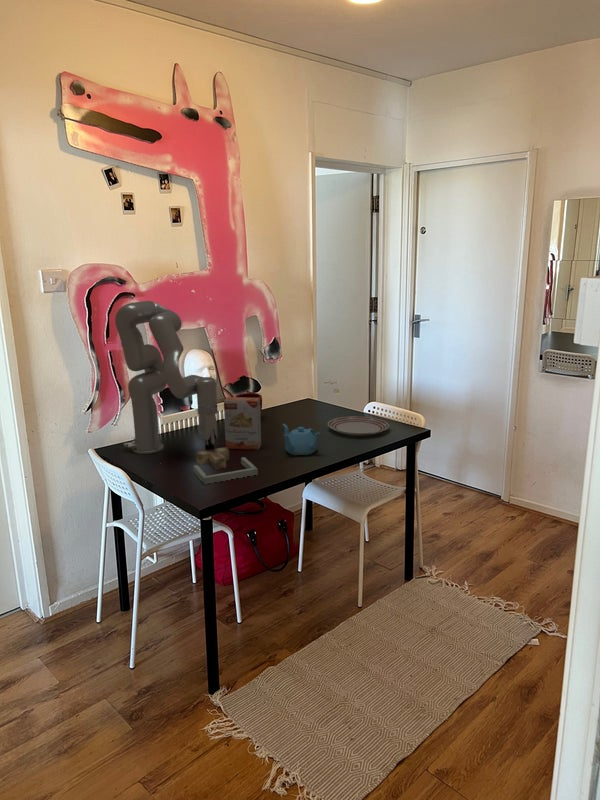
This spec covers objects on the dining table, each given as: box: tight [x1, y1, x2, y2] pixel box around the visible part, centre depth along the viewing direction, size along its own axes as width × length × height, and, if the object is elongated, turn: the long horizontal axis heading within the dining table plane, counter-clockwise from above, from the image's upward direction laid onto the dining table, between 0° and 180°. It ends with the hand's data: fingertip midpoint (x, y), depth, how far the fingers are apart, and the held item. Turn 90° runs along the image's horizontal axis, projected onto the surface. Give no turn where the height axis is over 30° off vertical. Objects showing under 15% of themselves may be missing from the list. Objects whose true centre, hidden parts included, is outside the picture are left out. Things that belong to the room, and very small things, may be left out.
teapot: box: [282, 423, 322, 456], centre depth 242 cm, size 15×15×10 cm
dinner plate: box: [327, 415, 390, 437], centre depth 270 cm, size 28×27×3 cm
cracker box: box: [223, 396, 262, 451], centre depth 247 cm, size 14×6×21 cm, turn 82°
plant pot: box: [234, 392, 263, 418], centre depth 287 cm, size 13×13×12 cm
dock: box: [193, 456, 259, 485], centre depth 221 cm, size 20×14×2 cm
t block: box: [195, 446, 230, 471], centre depth 231 cm, size 12×12×4 cm
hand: (210, 454), depth 238 cm, fingers closed
